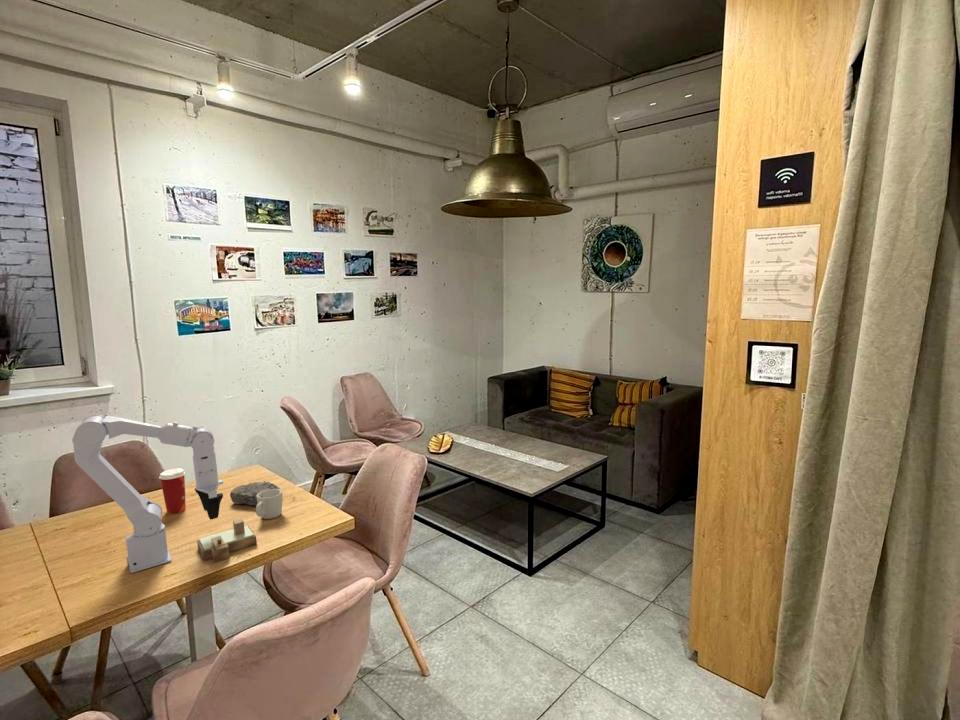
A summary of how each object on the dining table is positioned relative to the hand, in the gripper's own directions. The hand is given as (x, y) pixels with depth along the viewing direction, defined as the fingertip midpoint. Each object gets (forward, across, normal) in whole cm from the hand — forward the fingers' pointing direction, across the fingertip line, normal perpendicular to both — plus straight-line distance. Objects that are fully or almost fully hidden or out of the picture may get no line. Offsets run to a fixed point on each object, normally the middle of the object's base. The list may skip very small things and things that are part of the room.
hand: (211, 513), depth 146 cm
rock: (+11, +27, -18) cm, 34 cm away
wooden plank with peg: (+7, -8, 0) cm, 10 cm away
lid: (+7, -3, -3) cm, 8 cm away
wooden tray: (+10, -4, -3) cm, 11 cm away
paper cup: (+10, +37, +5) cm, 39 cm away
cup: (+10, +9, -18) cm, 22 cm away
